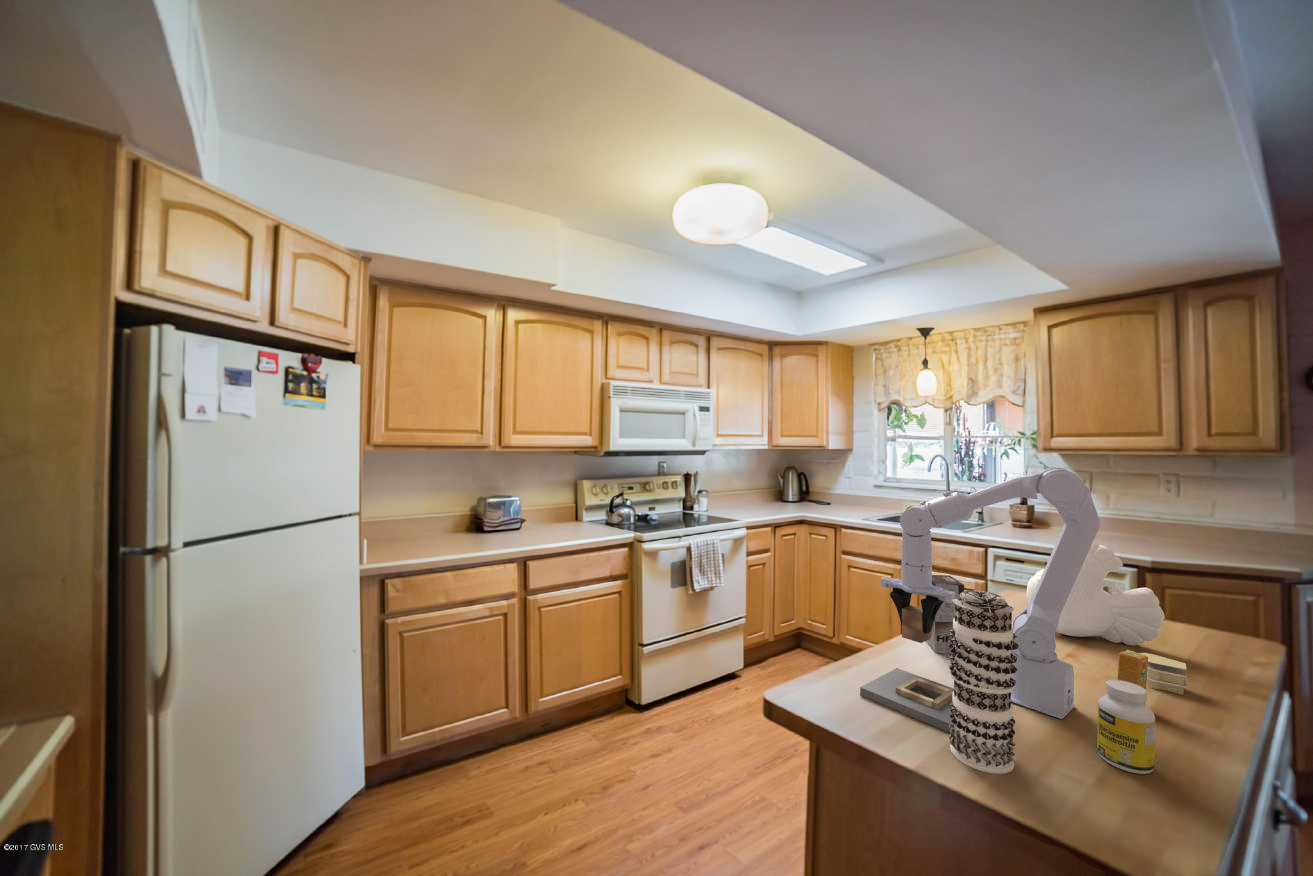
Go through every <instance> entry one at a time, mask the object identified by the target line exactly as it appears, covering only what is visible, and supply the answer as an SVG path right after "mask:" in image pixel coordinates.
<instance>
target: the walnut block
mask: <svg viewBox="0 0 1313 876" xmlns="http://www.w3.org/2000/svg"><path fill="white" fill-rule="evenodd" d="M901 638H903V639H907V640H910V641H913V642H917V643H920V644H923V643H924V642H926V641H927V640H929V639H930V632H929V633H924V632H923V611H922V607H919V606H915V605H913V604H912V605H911V604H910V606H908V607H905V608H903V609H902V626H901Z"/></svg>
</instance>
